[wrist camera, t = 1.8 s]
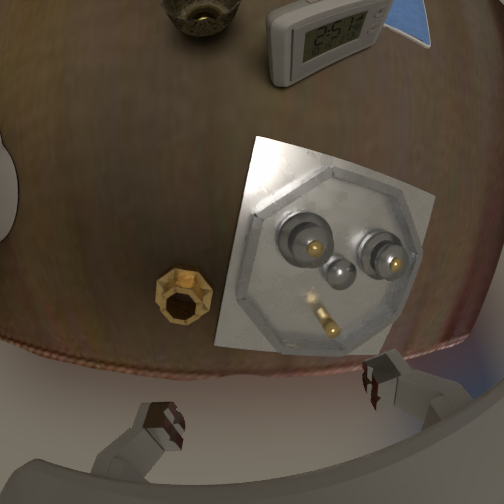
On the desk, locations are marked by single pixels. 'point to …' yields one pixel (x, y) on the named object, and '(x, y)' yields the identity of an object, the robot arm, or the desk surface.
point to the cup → (200, 15)
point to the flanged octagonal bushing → (186, 283)
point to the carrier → (319, 255)
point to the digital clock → (319, 34)
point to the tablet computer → (409, 21)
